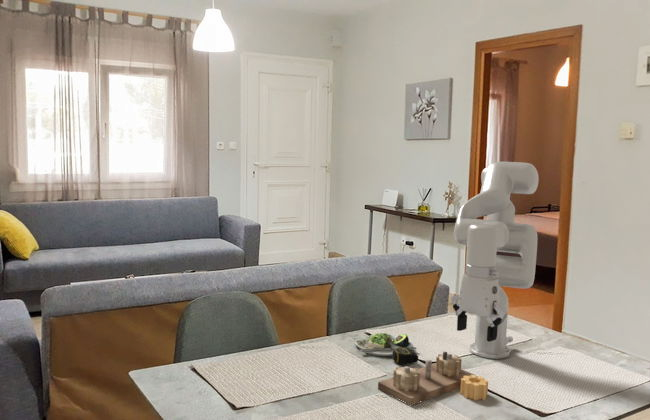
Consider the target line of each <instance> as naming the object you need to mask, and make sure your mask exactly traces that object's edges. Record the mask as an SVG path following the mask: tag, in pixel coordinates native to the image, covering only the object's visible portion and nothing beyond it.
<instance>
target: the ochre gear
mask: <svg viewBox="0 0 650 420" xmlns="http://www.w3.org/2000/svg"><path fill="white" fill-rule="evenodd" d="M488 387H489V380H488V379H485V377H484V376H477V375H476V374H474V375H471V376H466V375H465V376H463V378H461V387H460V390H459V391H460V395H463V397H464V398H466V399H471V400H473V401H478V400H486V399H487V397H488V392H489V391H488V390H489V388H488Z"/></svg>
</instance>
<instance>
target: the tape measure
mask: <svg viewBox="0 0 650 420" xmlns="http://www.w3.org/2000/svg"><path fill="white" fill-rule="evenodd" d="M391 357H392V360H393V361H394V362H395V363H397V364H400V365H410V364H415V363H417V362H419V355H418V354H417V353H416V352H414V350H410V349H409V348H407V347H406V348H396V349H394V351H393V354H392V356H391Z"/></svg>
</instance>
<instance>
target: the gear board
mask: <svg viewBox="0 0 650 420" xmlns="http://www.w3.org/2000/svg"><path fill="white" fill-rule="evenodd" d="M435 357H436V359H435V362H436V363H433V364H432V362H433V361H432V360H431V359H426V360H425V366H424V367H421V368H415V367H413V368H412V367H410V366H407V365H405V366H404V367H403V366H402V367H400V366H397V367H395V369H393V375H392V376H393V377H390V378H387V379H384V380H380V381H378V382H377V390H379V391H381V392H382V393H384V394H387V395H388V394H389V396H390V395H391V396H390V397H392V396H393V397H392V398H394V397H395V398H394V399H396V398H398V399H400V400H402V401H404V402H406V403H407V404H406V403H405V404H406V405H408V404H409V405H408V406H410V405H412V404H414V403H417V404H419V403H418V402H420V401H422V402H425V401H427V399H428V400H430V399H432V398H436V397H438V396H440V395H443V394H446V393H449V392H451V391H455V390H457V389H459V388H460V389H461V378H463V376H465V375H466V376H471V375H475V374H474V373H472V372H470V371H467V370H465V369H463V368H462V361H463V360H462V358H461V357H459V355H458V354H452V353H448V352H447V351H442V353H439V354H438V356H435ZM398 399H397V400H398ZM400 400H399V401H400ZM424 400H425V401H424ZM402 401H401V402H402ZM404 402H403V403H404ZM420 403H421V402H420ZM414 405H415V404H414ZM412 406H413V405H412Z"/></svg>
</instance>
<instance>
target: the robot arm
mask: <svg viewBox="0 0 650 420" xmlns="http://www.w3.org/2000/svg"><path fill="white" fill-rule="evenodd" d="M480 180H481V181H480V182H481V189H480V193H478V194H476V195H475V196H473V197H471V198H469V199H468V200H467V201H466V202H465V203H464V204H463V205H462V206H461V207H460V209H459V211H458V212H457V213H458V214H457V216H456V220H455V224H454V229H453V238H454V241H455V242H456V243H457V244H458V245H460V246H464V247H466V254H465V255H466V257H465V270H464V271H465V273H464V274H463V276H462V279H461V283H460V288H459V294H456V295H453V296H451V297H450V301H451V303H452V308H453V310H454V311H455V315H456V317H457V320H456V331H458V332H462V331H464V330H466V329H467V325H468V323H467V322H468V314H466V313H469V314H471V315H474V316H476V318H475V331H474V332H475V334H474V336H475V337H474V342H472V343H471V344H470V345H469V351H470V352H471V353H472V354H474V355H475V356H478V357H481V358H486V359H495V360H498V359H505V358H508V357H510V355H511V349H510V348H509V347H508V346H507V345H508V344H509V343H513V341H514V338H513V336H511V335H509V336H507V330H508V315H509V314H508V313H509V298H508V295H507V294H506V292H505V290H504V289H503V287H504V288H506V287H507V288H514V289H523V290H525V289H530V288H531V287H533V285H534V281H535V278H536V277H535V275H536V268H537V267H536V265H537V255H538V254H537V253H538V232H537V229H536V227H535V226H533V225H531V224H527V223H516V222H515V217H516V214H515V213H516V206H515V205H514V204H513V201H512V200H511V194H522V195H533V194H534V193H535V192H536V191H537V189H538V186H539V172H538V169H537V168H536V166H535V165H533V164H532V163H528V162H520V161H519V162H518V161H495V162H492V163H490V164H489V165H488V166H486V167H485V168H484V169H482V171H481V176H480ZM482 217H486V219H481V218H482ZM478 218H479V219H478ZM497 252H501V253H511V254H519V255H520V257H519V256H511V255H510V256H509V255H501V254H497Z"/></svg>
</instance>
